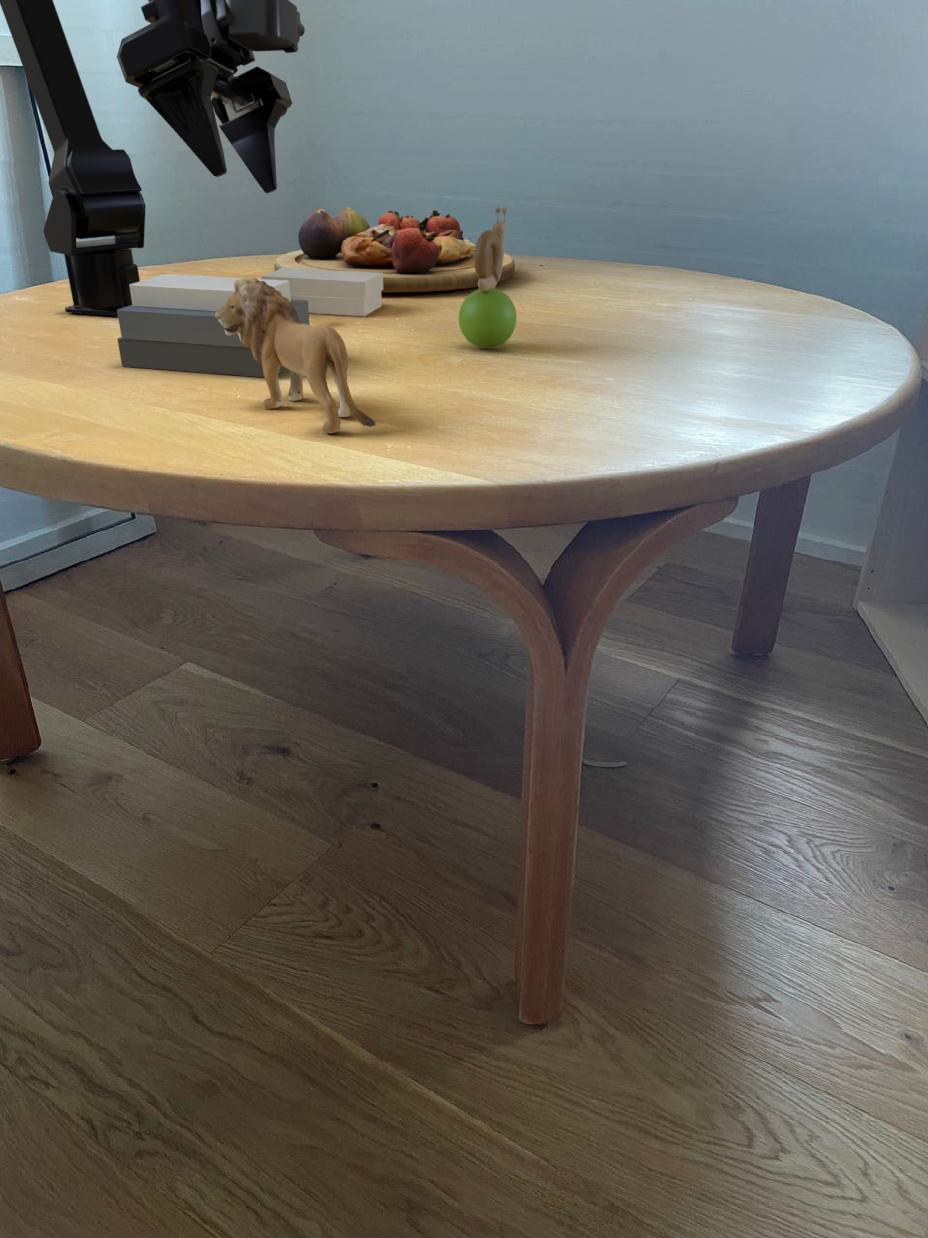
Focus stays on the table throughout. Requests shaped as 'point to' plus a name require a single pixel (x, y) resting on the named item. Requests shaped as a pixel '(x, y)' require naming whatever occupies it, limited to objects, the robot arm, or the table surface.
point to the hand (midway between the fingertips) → (247, 183)
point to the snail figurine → (488, 293)
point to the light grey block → (333, 290)
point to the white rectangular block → (191, 291)
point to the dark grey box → (187, 341)
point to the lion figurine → (290, 348)
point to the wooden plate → (390, 250)
